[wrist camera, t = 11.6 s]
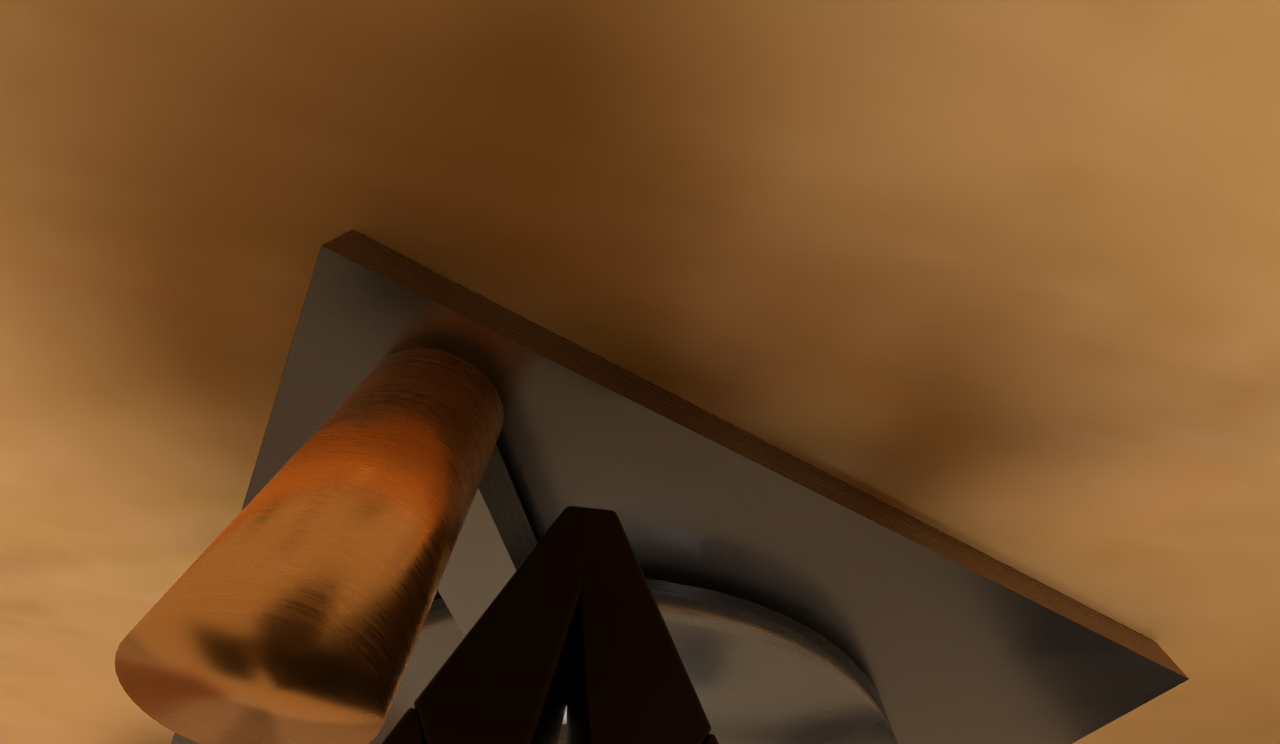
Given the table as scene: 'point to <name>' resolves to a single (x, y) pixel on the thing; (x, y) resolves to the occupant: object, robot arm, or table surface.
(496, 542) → the turntable
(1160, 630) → the table surface
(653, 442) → the base plate
